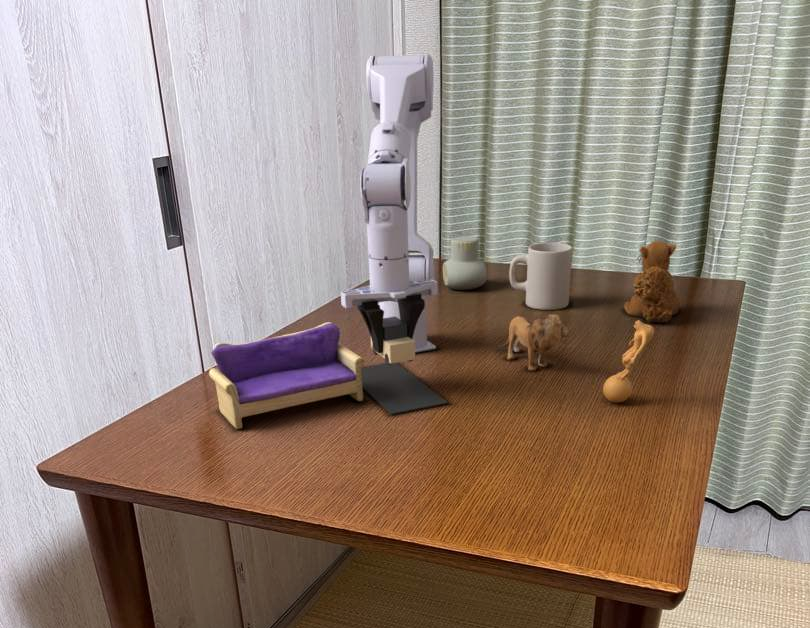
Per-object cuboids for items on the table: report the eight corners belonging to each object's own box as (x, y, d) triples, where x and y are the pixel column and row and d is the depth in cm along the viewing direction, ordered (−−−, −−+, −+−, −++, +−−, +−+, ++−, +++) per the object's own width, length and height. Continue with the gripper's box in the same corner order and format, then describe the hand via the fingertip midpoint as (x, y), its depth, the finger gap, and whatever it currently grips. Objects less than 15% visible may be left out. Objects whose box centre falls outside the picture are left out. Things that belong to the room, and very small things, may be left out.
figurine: (602, 390, 122) (610, 310, 116) (643, 392, 121) (654, 312, 114) (601, 411, 115) (610, 328, 109) (645, 414, 114) (656, 330, 107)
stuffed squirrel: (675, 306, 158) (686, 236, 151) (684, 328, 146) (695, 253, 139) (623, 306, 159) (631, 236, 152) (627, 327, 148) (635, 252, 141)
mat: (344, 372, 132) (344, 370, 132) (395, 363, 135) (395, 361, 135) (391, 415, 116) (391, 413, 116) (447, 404, 119) (447, 402, 119)
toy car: (371, 352, 125) (369, 317, 123) (394, 348, 127) (393, 313, 124) (390, 367, 119) (389, 331, 116) (415, 363, 120) (414, 327, 118)
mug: (569, 299, 165) (573, 242, 159) (567, 310, 158) (572, 252, 152) (510, 297, 167) (512, 242, 161) (506, 309, 160) (508, 251, 154)
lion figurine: (570, 370, 130) (574, 314, 125) (545, 377, 127) (548, 321, 122) (510, 347, 140) (512, 295, 135) (486, 353, 138) (487, 300, 133)
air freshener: (441, 282, 179) (441, 234, 174) (478, 279, 180) (479, 232, 175) (449, 294, 170) (449, 245, 165) (488, 292, 171) (489, 243, 166)
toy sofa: (232, 432, 113) (221, 361, 107) (214, 411, 119) (203, 343, 114) (367, 402, 121) (364, 334, 115) (344, 384, 127) (339, 319, 122)
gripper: (350, 267, 110) (356, 364, 117) (446, 255, 114) (446, 348, 121) (333, 257, 115) (340, 350, 122) (426, 245, 120) (427, 336, 127)
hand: (392, 348), depth 122 cm, fingers closed on toy car, 4 cm apart
